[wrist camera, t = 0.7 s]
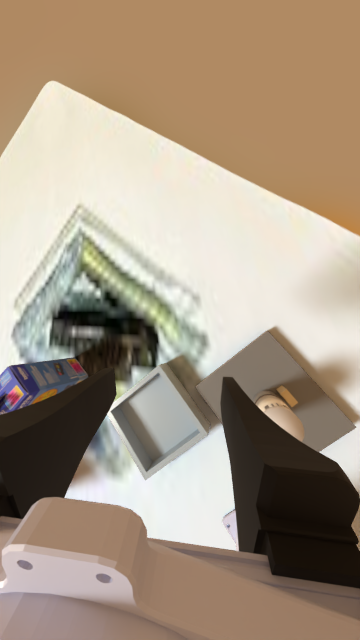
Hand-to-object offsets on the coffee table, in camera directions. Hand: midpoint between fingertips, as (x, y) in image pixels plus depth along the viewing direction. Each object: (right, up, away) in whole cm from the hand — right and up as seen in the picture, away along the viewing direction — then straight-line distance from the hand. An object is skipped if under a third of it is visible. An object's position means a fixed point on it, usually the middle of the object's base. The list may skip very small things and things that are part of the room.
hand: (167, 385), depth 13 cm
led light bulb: (+13, -8, +15) cm, 22 cm away
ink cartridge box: (-21, -8, +26) cm, 34 cm away
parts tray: (-2, -11, +20) cm, 23 cm away
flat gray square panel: (+14, -8, +16) cm, 23 cm away
